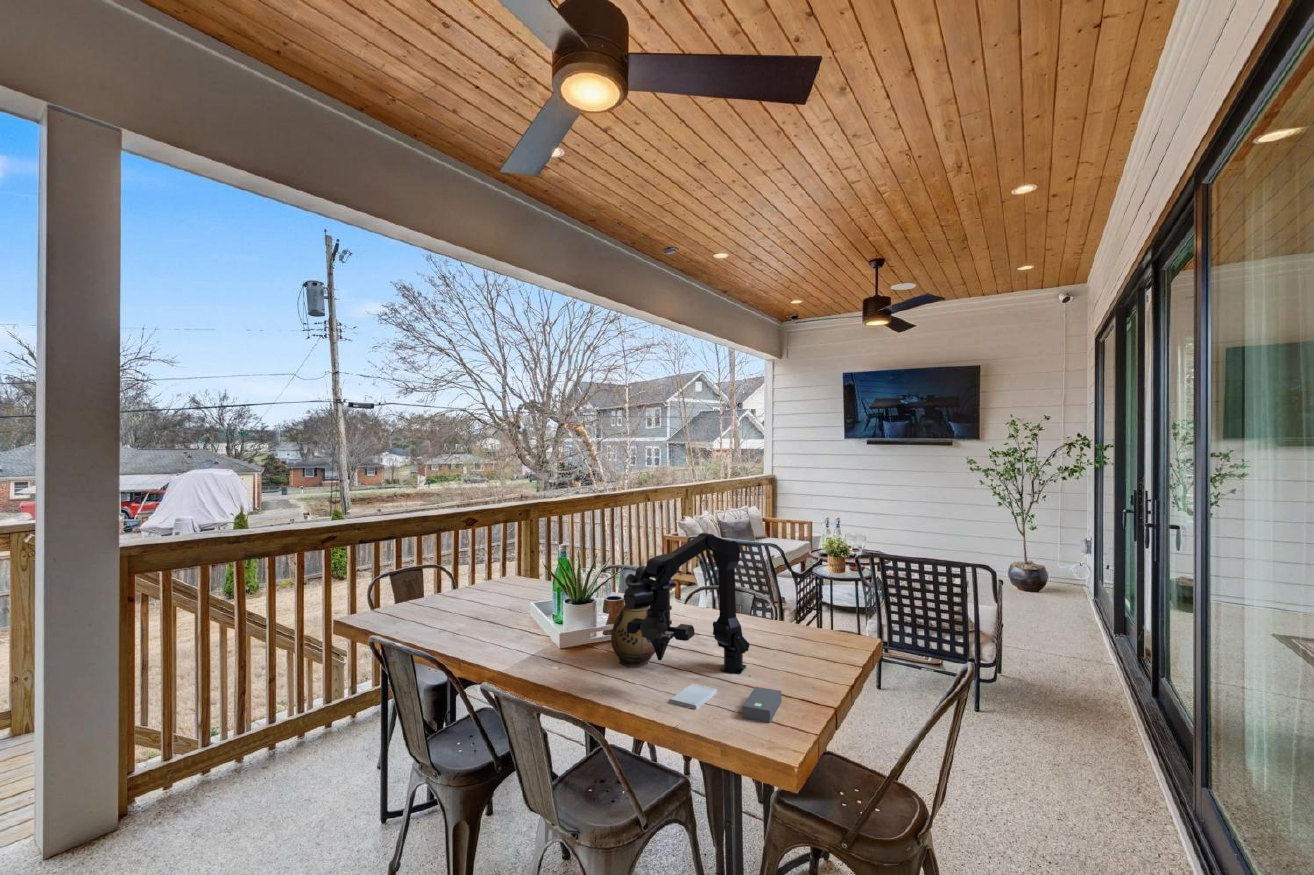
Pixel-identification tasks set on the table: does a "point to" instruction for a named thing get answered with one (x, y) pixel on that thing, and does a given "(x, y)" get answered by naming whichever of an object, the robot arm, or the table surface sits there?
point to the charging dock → (761, 704)
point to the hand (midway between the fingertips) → (660, 659)
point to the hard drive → (693, 696)
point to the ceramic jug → (628, 645)
